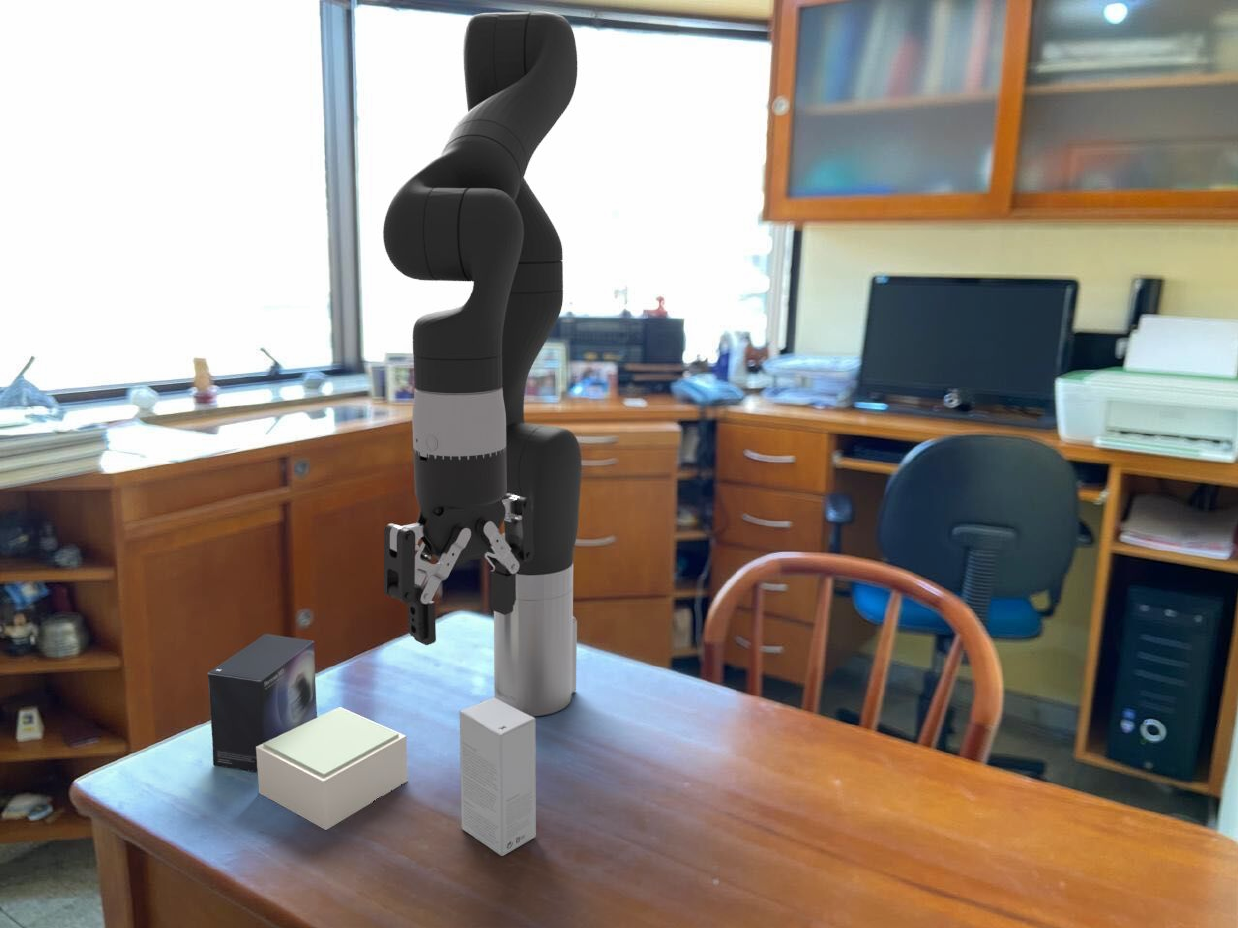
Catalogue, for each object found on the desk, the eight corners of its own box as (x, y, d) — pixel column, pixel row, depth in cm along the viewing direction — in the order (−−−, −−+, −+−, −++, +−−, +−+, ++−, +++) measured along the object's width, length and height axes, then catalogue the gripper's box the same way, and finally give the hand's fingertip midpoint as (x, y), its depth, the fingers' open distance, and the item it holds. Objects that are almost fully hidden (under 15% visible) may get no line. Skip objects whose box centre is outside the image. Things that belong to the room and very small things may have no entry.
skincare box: (537, 837, 84) (538, 718, 81) (501, 858, 81) (500, 735, 78) (495, 809, 88) (494, 695, 85) (459, 828, 85) (457, 710, 82)
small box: (268, 776, 93) (261, 680, 90) (210, 767, 94) (202, 673, 92) (321, 725, 103) (316, 637, 100) (269, 718, 104) (263, 631, 102)
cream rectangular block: (341, 749, 98) (339, 704, 97) (407, 780, 92) (406, 732, 91) (259, 792, 90) (255, 743, 89) (325, 829, 84) (323, 778, 83)
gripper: (495, 423, 83) (497, 592, 87) (358, 448, 72) (368, 639, 76) (554, 436, 78) (554, 614, 82) (416, 464, 67) (424, 667, 71)
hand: (464, 626), depth 79 cm, fingers open, 8 cm apart
